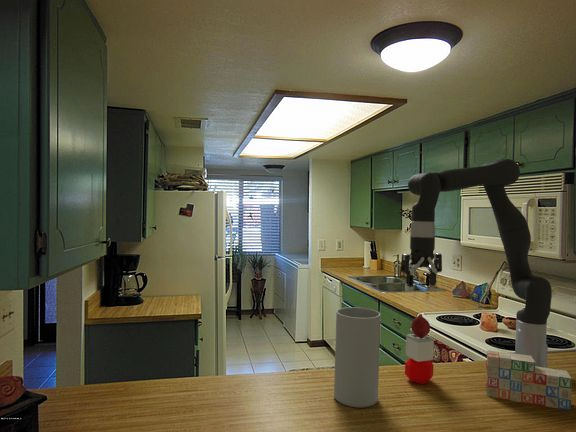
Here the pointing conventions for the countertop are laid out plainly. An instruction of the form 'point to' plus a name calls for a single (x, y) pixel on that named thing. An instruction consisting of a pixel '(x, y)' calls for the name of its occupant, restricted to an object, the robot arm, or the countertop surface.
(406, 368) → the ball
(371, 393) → the cylinder vase
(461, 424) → the countertop surface
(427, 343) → the socket block
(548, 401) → the stack of blocks
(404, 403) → the countertop surface
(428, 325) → the onion
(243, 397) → the countertop surface
